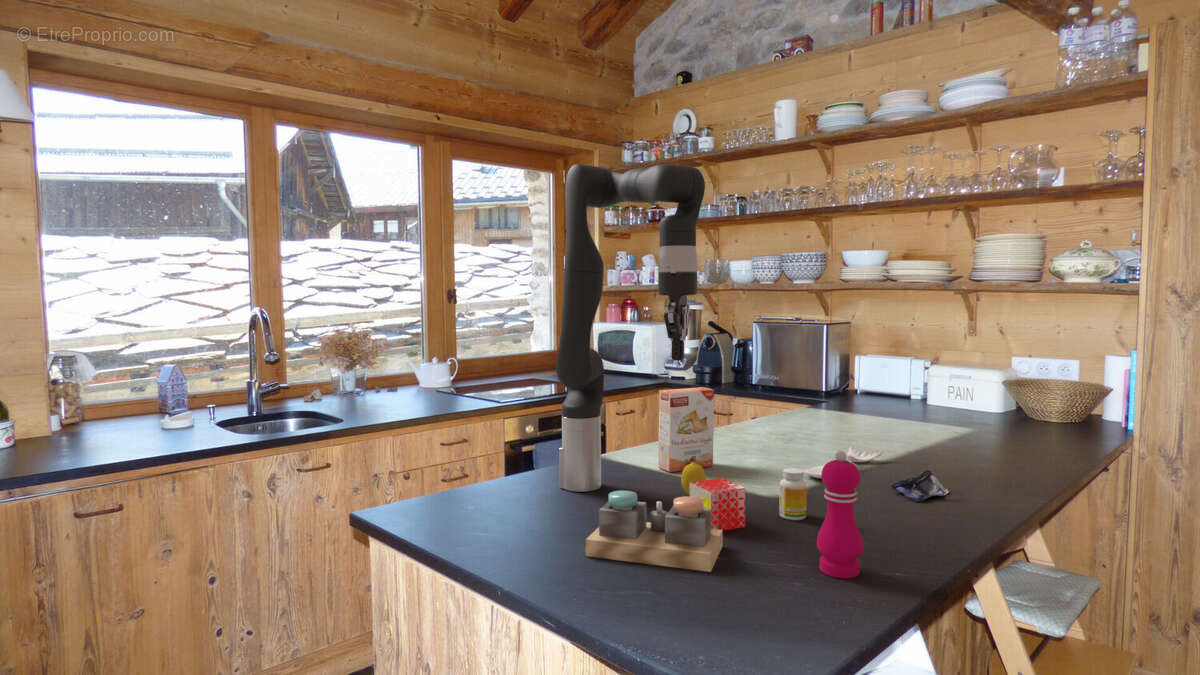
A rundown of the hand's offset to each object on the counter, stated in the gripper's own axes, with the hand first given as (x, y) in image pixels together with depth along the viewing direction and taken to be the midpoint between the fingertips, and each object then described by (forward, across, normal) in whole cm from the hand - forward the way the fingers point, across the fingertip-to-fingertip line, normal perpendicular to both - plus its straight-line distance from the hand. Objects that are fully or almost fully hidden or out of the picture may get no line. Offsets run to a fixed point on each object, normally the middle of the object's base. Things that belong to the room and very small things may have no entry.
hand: (677, 359), depth 132 cm
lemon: (+33, -20, -1) cm, 39 cm away
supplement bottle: (+33, -13, +21) cm, 41 cm away
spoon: (+34, -55, +31) cm, 72 cm away
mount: (+33, +14, -1) cm, 36 cm away
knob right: (+30, +14, +5) cm, 33 cm away
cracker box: (+33, -45, -8) cm, 56 cm away
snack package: (+34, -37, +48) cm, 69 cm away
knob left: (+30, +14, -7) cm, 34 cm away
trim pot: (+30, +11, -1) cm, 32 cm away
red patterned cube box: (+33, -4, +7) cm, 34 cm away
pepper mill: (+33, +13, +30) cm, 47 cm away
